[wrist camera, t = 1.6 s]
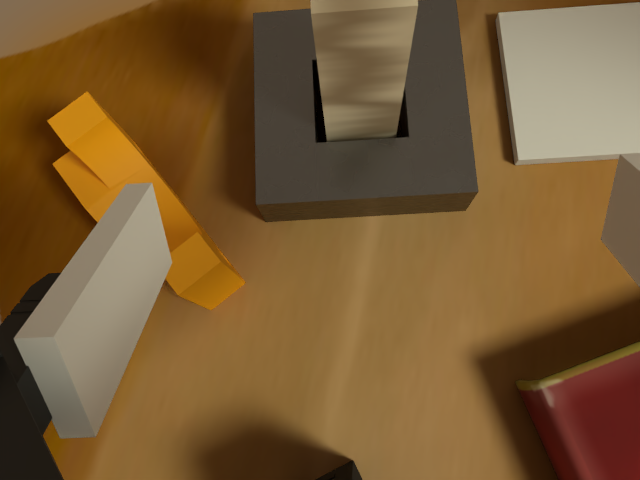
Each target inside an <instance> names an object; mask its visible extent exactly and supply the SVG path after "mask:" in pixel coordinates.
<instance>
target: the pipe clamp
mask: <svg viewBox="0 0 640 480" xmlns="http://www.w3.org/2000/svg"><path fill="white" fill-rule="evenodd" d="M48 123H49V124H50V125H51V127H52V128H53V129H54V131H55V132H56V133H57V135H58V136H59V137H60V139H61V140H62V141H63V143H64V144H65V145H66V147H67V148H69V149H70V151H69V152H68V153H66V154H65V155H64V156H62V157H61V158H60V159H58V160H57V161H56V162H54V163H53V166H54V167H55V168H56V170H57V171H58V173H59V174H60V175H61V177H62V178H63V179H64V181H65V182H66V183H67V185H68V186H69V187H70V189H71V190H72V192H73V193H74V194H75V196H76V197H77V198H78V200H79V201H80V202H81V204H82V205H83V207H84V208H85V209H86V210H87V211H88V212H89V213H90V215H91V216H92V217H93V218H94V219H95V220H96V221H97V222H99V221H100V219H101V218H102V216H103V215H104V214H105V212H106V211H107V210H108V208H109V207H110V205H111V204H112V203H113V201H114V200H115V199H116V197H117V196H118V194H119V193H120V192H121V190H122V189H123V188H124V186H125V185H126V184H136V183H152V184H153V188H154V192H155V196H156V200H157V204H158V208H159V212H160V216H161V220H162V224H163V228H164V232H165V236H166V240H167V244H168V248H169V252H170V256H171V260H172V264H171V266H170V269H169V271H168V273H167V276H166V278H165V279H166V280H167V282H168V283H169V284H170V286H171V287H172V288H173V290H174V291H175V292H176V294H177V295H178V296H180V297H182V298H184V299H187V300H189V301H191V302H193V303H196V304H198V305H200V306H202V307H205V308H207V309H209V310H212V309H214V308H215V307H216V306H217V305H219V304H220V303H221V302H222V301H224V300H225V299H226V298H227V297H229V296H230V295H231V294H232V293H234V292H235V291H236V290H237V289H239V288H240V287H241V286H242V285H244V284H245V283H246V282H245V281H244V280H243V278H242V277H241V276H240V275H239V273H238V272H237V271H236V270H235V268H234V267H233V266H232V265H231V263H230V262H229V261H228V259H227V258H226V257H225V256H224V254H223V253H222V252H221V251H220V249H219V248H218V247H217V246H216V244H215V243H214V242H213V240H212V239H211V238H210V237H209V235H208V234H207V233H206V232H205V230H204V229H203V228H202V227H201V225H200V224H199V223H198V222H197V220H196V219H195V218H194V216H193V215H192V214H191V213H190V211H189V210H188V209H187V208H186V206H185V205H184V204H183V203H182V201H181V200H180V199H179V197H178V196H177V195H176V194H175V192H174V191H173V190H172V189H171V187H170V186H169V185H168V184H167V182H166V181H165V180H164V178H163V177H162V176H161V175H160V173H159V172H158V171H157V170H156V168H155V167H154V166H153V165H152V163H151V162H150V161H149V159H148V158H147V157H146V156H145V154H144V153H143V152H142V151H141V149H140V148H139V147H138V146H137V144H136V143H135V142H134V140H133V139H132V138H131V137H130V136H129V135H128V134H127V133H126V132H125V131H124V130H123V129H122V128H121V127H120V126H119V125H118V124H117V123H116V121H115V120H114V119H113V118H112V117H111V116H110V115H109V114H108V113H107V112H106V111H105V110H104V109H103V108H102V107H101V106H100V105H99V103H98V102H97V101H96V100H95V99H94V98H93V97H92V96H91V95H90V94H89V93H88V92H86V93H85V94H83V95H82V96H80V97H79V98H78V99H76V100H75V101H74V102H72V103H71V104H69V105H68V106H67V107H65V108H64V109H63V110H61V111H60V112H59V113H57V114H56V115H54V116H53V117H52V118H50V119H49V120H48Z"/></svg>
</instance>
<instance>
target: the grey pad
mask: <svg viewBox="0 0 640 480" xmlns="http://www.w3.org/2000/svg"><path fill="white" fill-rule="evenodd" d="M495 21H496V29H497V36H498V44H499V51H500V59H501V66H502V74H503V81H504V89H505V96H506V104H507V111H508V119H509V126H510V134H511V141H512V149H513V156H514V164H515V165H524V164H541V163H558V162H574V161H591V160H607V159H619V156H620V154H631V153H640V2H636V3H622V4H609V5H595V6H582V7H568V8H555V9H541V10H528V11H514V12H501V13H498V15H497V18H496V20H495Z"/></svg>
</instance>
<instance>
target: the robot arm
mask: <svg viewBox="0 0 640 480" xmlns="http://www.w3.org/2000/svg"><path fill="white" fill-rule="evenodd" d="M601 240H602V242H603V243H604V244H605V245H606V247H607V248H608V249H609V250H610V251H611V253H612V254H613V255H614V256H615V258H616V259H617V260H618V261H619V262H620V264H621V265H622V266H623V267H624V269H625V270H626V271H627V272H628V273H629V275H630V276H631V277H632V278H633V280H634V281H635V282H636V283H637V285H638V286H639V287H640V153H631V154H620V156H619V160H618V165H617V169H616V174H615V178H614V183H613V187H612V192H611V196H610V201H609V205H608V210H607V214H606V219H605V223H604V228H603V232H602V237H601ZM171 264H172V260H171V256H170V252H169V248H168V244H167V240H166V236H165V232H164V228H163V224H162V220H161V216H160V212H159V208H158V204H157V200H156V196H155V192H154V188H153V184H152V183H136V184H126V185H125V186H124V188H123V189H122V190H121V192H120V193H119V194H118V196H117V197H116V199H115V200H114V201H113V203H112V204H111V205H110V207H109V208H108V210H107V211H106V212H105V214H104V215H103V216H102V218H101V219H100V221H99V222H98V223H97V225H96V226H95V227H94V229H93V230H92V231H91V233H90V234H89V236H88V237H87V238H86V240H85V241H84V242H83V244H82V245H81V247H80V248H79V249H78V251H77V252H76V253H75V255H74V256H73V258H72V259H71V260H70V262H69V263H68V264H67V266H66V267H65V269H64V270H63V271H62V273H51V274H48V275H46V276H45V277H43V278H42V279H41V280H39V281H38V282H36V283H35V284H34V285H32V286H31V287H30V288H29V289H28V291H27V292H26V293H25V295H24V296H23V297H22V298H21V300H20V303H18V304H17V305H16V306H15V307H14V309H13V310H12V311H11V315H8V316H7V318H6V319H5V320H4V321H3V323H2V324H1V325H0V480H64V479H63V477H62V475H61V473H60V471H59V469H58V467H57V465H56V463H55V460H54V458H53V456H52V454H51V452H50V450H49V448H48V446H47V444H46V442H45V440H44V438H43V434H44V432H45V430H46V428H47V426H48V425H49V423H50V421H51V420H52V422H53V424H54V426H55V428H56V430H57V432H58V435H59V437H60V438H81V437H96V435H97V433H98V431H99V428H100V426H101V424H102V422H103V419H104V417H105V415H106V412H107V410H108V408H109V406H110V403H111V401H112V399H113V396H114V394H115V392H116V390H117V387H118V385H119V383H120V381H121V378H122V376H123V374H124V371H125V369H126V367H127V365H128V362H129V360H130V358H131V355H132V353H133V351H134V349H135V346H136V344H137V342H138V339H139V337H140V335H141V333H142V330H143V328H144V326H145V324H146V321H147V319H148V317H149V314H150V312H151V310H152V308H153V305H154V303H155V301H156V298H157V296H158V294H159V292H160V289H161V287H162V285H163V282H164V280H165V278H166V276H167V273H168V271H169V269H170V266H171Z"/></svg>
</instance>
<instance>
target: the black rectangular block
mask: <svg viewBox="0 0 640 480" xmlns="http://www.w3.org/2000/svg"><path fill="white" fill-rule="evenodd" d="M347 467H348V468H347ZM316 480H362V478H361V476H360V474H359V472H358V469H357V467H356V465H355V463H354V461H351V462H349V463H347V464H345V465H343V466H341V467H339V468H337V469H335V470H333V471H331V472H329V473H327V474H326V475H324V476H322V477H320V478H318V479H316Z"/></svg>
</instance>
